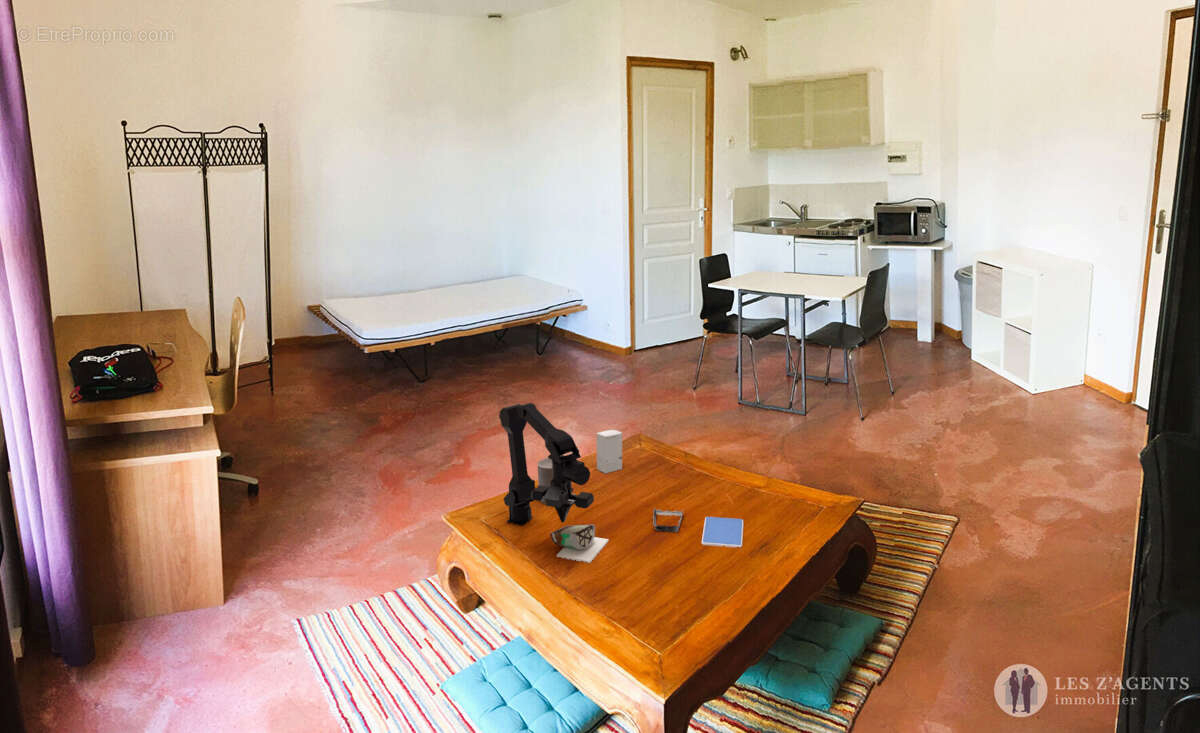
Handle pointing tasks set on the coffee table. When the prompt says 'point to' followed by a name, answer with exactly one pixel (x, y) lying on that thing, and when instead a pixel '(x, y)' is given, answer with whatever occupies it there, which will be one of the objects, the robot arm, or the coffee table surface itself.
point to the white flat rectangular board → (584, 551)
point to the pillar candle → (545, 473)
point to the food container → (574, 536)
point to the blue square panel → (723, 532)
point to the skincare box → (609, 451)
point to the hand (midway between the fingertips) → (563, 521)
